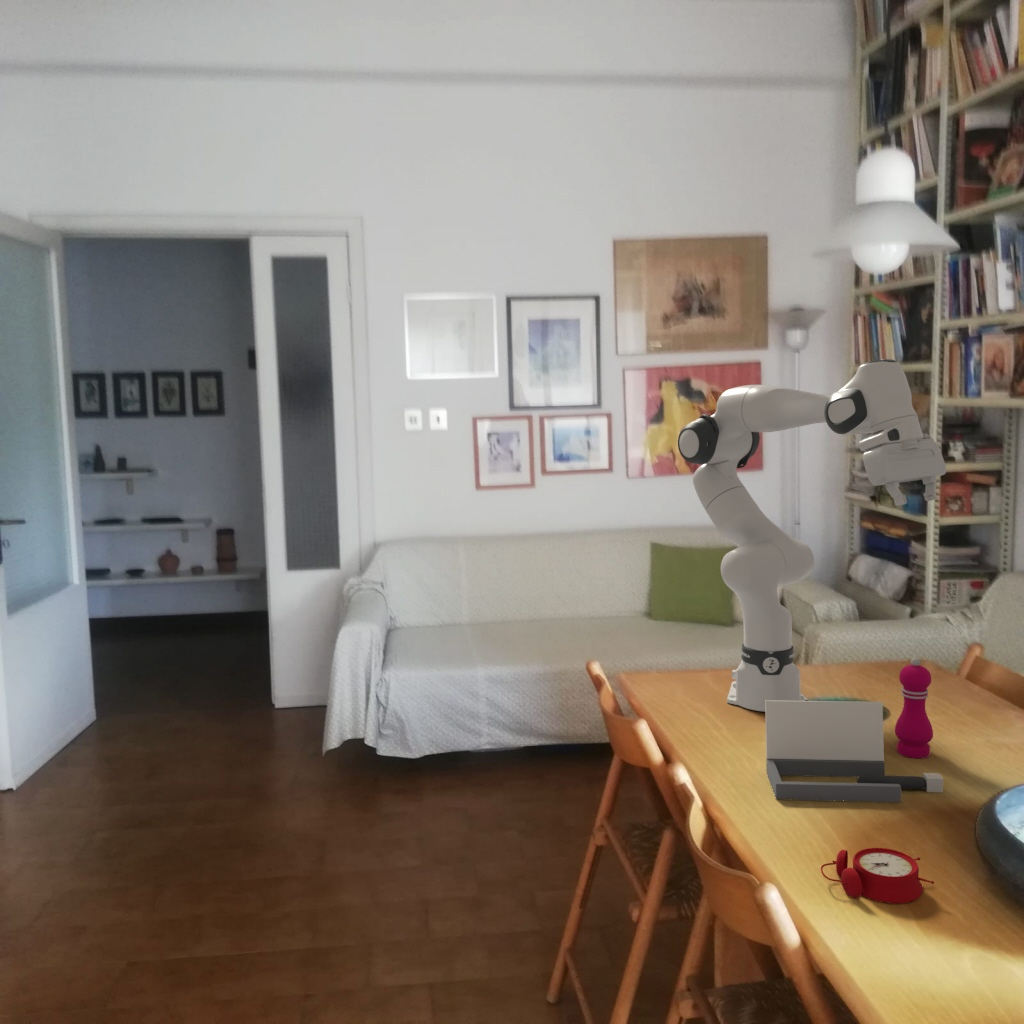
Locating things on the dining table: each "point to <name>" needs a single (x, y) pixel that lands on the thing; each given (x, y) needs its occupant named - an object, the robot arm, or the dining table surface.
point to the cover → (824, 730)
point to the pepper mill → (914, 712)
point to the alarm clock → (879, 875)
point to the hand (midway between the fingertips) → (916, 502)
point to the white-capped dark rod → (908, 781)
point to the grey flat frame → (827, 789)
